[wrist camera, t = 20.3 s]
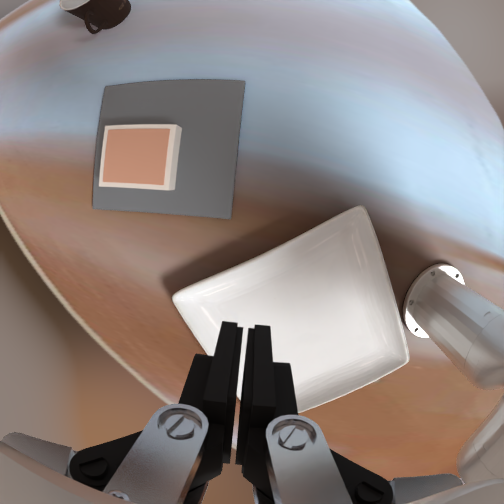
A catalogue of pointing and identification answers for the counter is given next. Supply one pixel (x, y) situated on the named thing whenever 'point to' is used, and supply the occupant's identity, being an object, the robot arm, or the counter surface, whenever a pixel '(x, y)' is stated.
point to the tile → (140, 156)
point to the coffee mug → (98, 12)
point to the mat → (191, 144)
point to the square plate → (310, 308)
